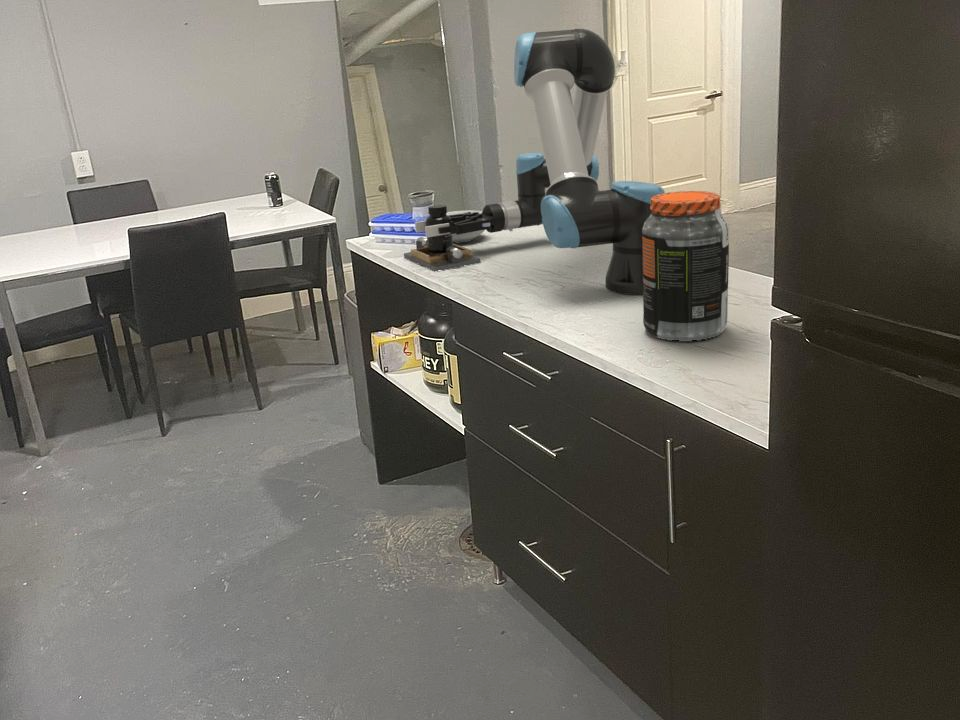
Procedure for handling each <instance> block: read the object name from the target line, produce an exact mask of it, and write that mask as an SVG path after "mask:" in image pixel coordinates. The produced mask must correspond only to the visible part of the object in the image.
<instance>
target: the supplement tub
mask: <svg viewBox="0 0 960 720" xmlns="http://www.w3.org/2000/svg"><path fill="white" fill-rule="evenodd" d="M650 209H651V212H652V213H651V215H650V216H649V217H648V218H647V220H646V221H645V223H644V225H643V229H642V253H643V294H642V299H643V302H642V303H643V306H642V307H643V315H642V316H643V320H642V323H643V326H644V328H645V330H646V331H647V333H649V334H650V335H651V336H652V337H655V338H657V339H660V338H661V340H665V339H667V340H666V341H672V340H679V341H678V342H693V341H692V340H697V341H702V340H701V339H705V340H707V339H706V338H710V337H713V338H715V337H714V336H716V335H717V336H719V335H720V333H721V334H722V333H723V332H724V331H725V329H726V328H727V325H728V314H729V312H728V311H729V310H728V309H729V308H728V305H729V269H730V267H729V265H730V264H729V258H730V227H729V223H728V220H727V219H726V217H725V216H724V214H723V212H722V211H721V210H722V209H721V197H720V194H718V193H716V192H712V191H702V190H684V191H683V190H681V191H670V192H665V193H663V194H659V195H655V196H653V197H652V198H651V206H650ZM717 336H716V337H717ZM710 339H711V338H710Z"/></svg>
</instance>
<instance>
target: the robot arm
mask: <svg viewBox="0 0 960 720" xmlns="http://www.w3.org/2000/svg"><path fill="white" fill-rule="evenodd" d="M613 56H614V55H613V54H612V50H611V49H610V47H609V45H608V43H607V42H606V41H605V40H604V39H603V38H602V37H601V36H600V35H599V34H597V33H595V32H594V31H592V30H590V29H587V28H586V29H585V28H574V29H562V30H550V31H538V32H537V30H536V31H533V32H527V33H526V32H525V33H522V34H520V35H519V36H518V38H517V40H516V43H515V48H514V61H513V67H514V68H513V73H514V74H513V75H514V82H515V83H514V84H515V85H516V87H520V88H522V87H524V92H525V95H526V96H527V97H528V98H529V99H531V100H533V104H534V109H535V113H536V114H535V115H536V119H537V123H538V129H539V134H540V135H539V136H540V138H541V144H542V150H543V153H542V152H527V153H525V152H524V153H520V154H519V155H517V157H516V165H515V166H516V168H515V169H516V171H515V174H516V182H517V199H516V200H509V201H502V202H499V203H492V204H491V203H490V204H486V205H485V206H483V209H482V213H481V214H479V212H473V213H471V212H467V213H463V214H455V215H448V216H449V217H450V218H451V221H450V226H449V223H445V224H439V225H433V226H426V220H421V221H415V222H414V227H415V233H416V234H418V233H422V232H423V233H425V238H427V237H433V236H439V235H446V234H450V232H451V234H455V233H456V234H457V235H459V234H464V233H469V232H474V231H479V230H485V231H486V232H488V233H490V234H491V233H493V234H494V233H498V232H502V231H509V232H513V230H514V229H520V228H527V227H533V226H540V225H542V226H543V229H544V232H545V235H546V237H547V239H548V241H549V242H550V244H551V245H553V247H555V248H556V249H566V248H567V249H569V248H570V249H577V248H583V247H592V246H600V245H601V246H602V245H609V244H612V255H611V258H610V262H609V263H608V264H609V265H608V268H607V271H606V275H605V288H606V289H607V290H608V291H610V292H613V293H618V294H621V295H622V294H623V295H643V253H642V229H643V225H644V223H645V221H646V220H647V218H648V217H649V216H650V215H651V213H652V212H651V209H650V206H651V198H652V197H653V196H655V195H659V194H663V193H666V192H665V189H664V188H663V187H662V186H660V185H658V184H656V183H651V182H645V181H644V182H643V181H638V180H637V181H636V180H635V181H634V180H617V181H613V182H612V183H611V186H610V189H606V190H605V189H603V190H600V189H599V186H598V185H599V184H598V179H599V175H600V173H599V172H600V167H599V166H600V164H599V160H598V157H597V156H595V155H594V154H595V151H596V150H595V149H596V144H597V139H598V135H599V130H600V125H601V120H602V116H603V111H604V106H605V101H606V97H607V93H608V91H610V90H611V88H612V87H613V84H614V80H615V76H616V75H615V73H616V66H615V60H614V57H613ZM574 85H575V88H576V89H575V92H574V99H573V98H572V94H571V90H572V89H573V87H574ZM572 99H573V100H572Z"/></svg>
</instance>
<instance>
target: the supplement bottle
mask: <svg viewBox="0 0 960 720" xmlns="http://www.w3.org/2000/svg"><path fill="white" fill-rule="evenodd" d="M427 209H428V212H427V213H428V215H429V216H428V217H426V219H425V221H426V226H433V225H439V224H445V223H449V226H450V221H451V218H450V217H449V216H448V215H446V213H447V212H448V210H447V205H446V204H433V205H429V206H428V207H427ZM426 239H427V246H428V251H429V252H430V253H433V254H442V253H446V250H447V248H448V247H449V246H452V247H453V236H452V234H451V232H450V234H446V235H439V236H433V237H426Z"/></svg>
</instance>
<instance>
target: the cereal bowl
mask: <svg viewBox="0 0 960 720" xmlns="http://www.w3.org/2000/svg"><path fill="white" fill-rule="evenodd" d="M467 212H471V213H473V212H479V214H481V213H482V212H483V210H482V211H481V210H472V209H471V210H469V209H468V210H456V211H455V210H454V211H447V213H446V215H455V214H463V213H467ZM485 231H486V230H479V231H474V232H469V233H464V234H459V235H457V234H456V233H455V234H452V236H453V242H465V243H468V242H467V241H469V242H472V241H474V239H475V238H477V237H479V236H480V235H482V234H483V233H484V232H485ZM471 240H472V241H471Z"/></svg>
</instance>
